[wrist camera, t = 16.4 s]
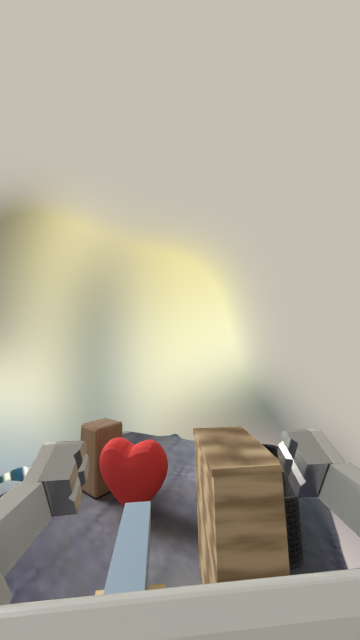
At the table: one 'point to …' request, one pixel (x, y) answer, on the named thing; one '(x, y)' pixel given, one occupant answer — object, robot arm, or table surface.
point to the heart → (133, 469)
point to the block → (98, 451)
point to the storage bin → (290, 517)
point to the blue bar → (131, 550)
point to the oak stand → (239, 507)
